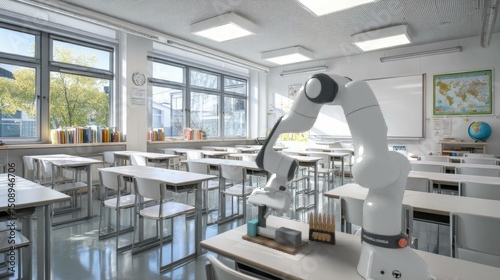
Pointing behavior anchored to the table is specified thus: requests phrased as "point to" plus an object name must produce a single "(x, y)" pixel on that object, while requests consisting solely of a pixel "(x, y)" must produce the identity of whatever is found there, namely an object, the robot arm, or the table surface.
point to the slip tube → (264, 224)
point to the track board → (281, 240)
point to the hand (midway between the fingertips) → (261, 217)
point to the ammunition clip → (322, 229)
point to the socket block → (252, 227)
